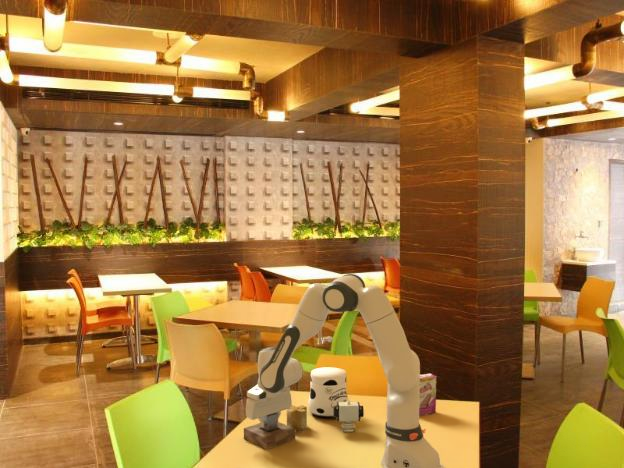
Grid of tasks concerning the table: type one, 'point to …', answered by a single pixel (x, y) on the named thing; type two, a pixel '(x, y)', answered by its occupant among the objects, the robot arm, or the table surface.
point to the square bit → (271, 422)
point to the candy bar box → (427, 394)
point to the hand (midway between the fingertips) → (269, 424)
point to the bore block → (269, 435)
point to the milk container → (327, 390)
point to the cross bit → (297, 417)
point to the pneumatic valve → (348, 414)
